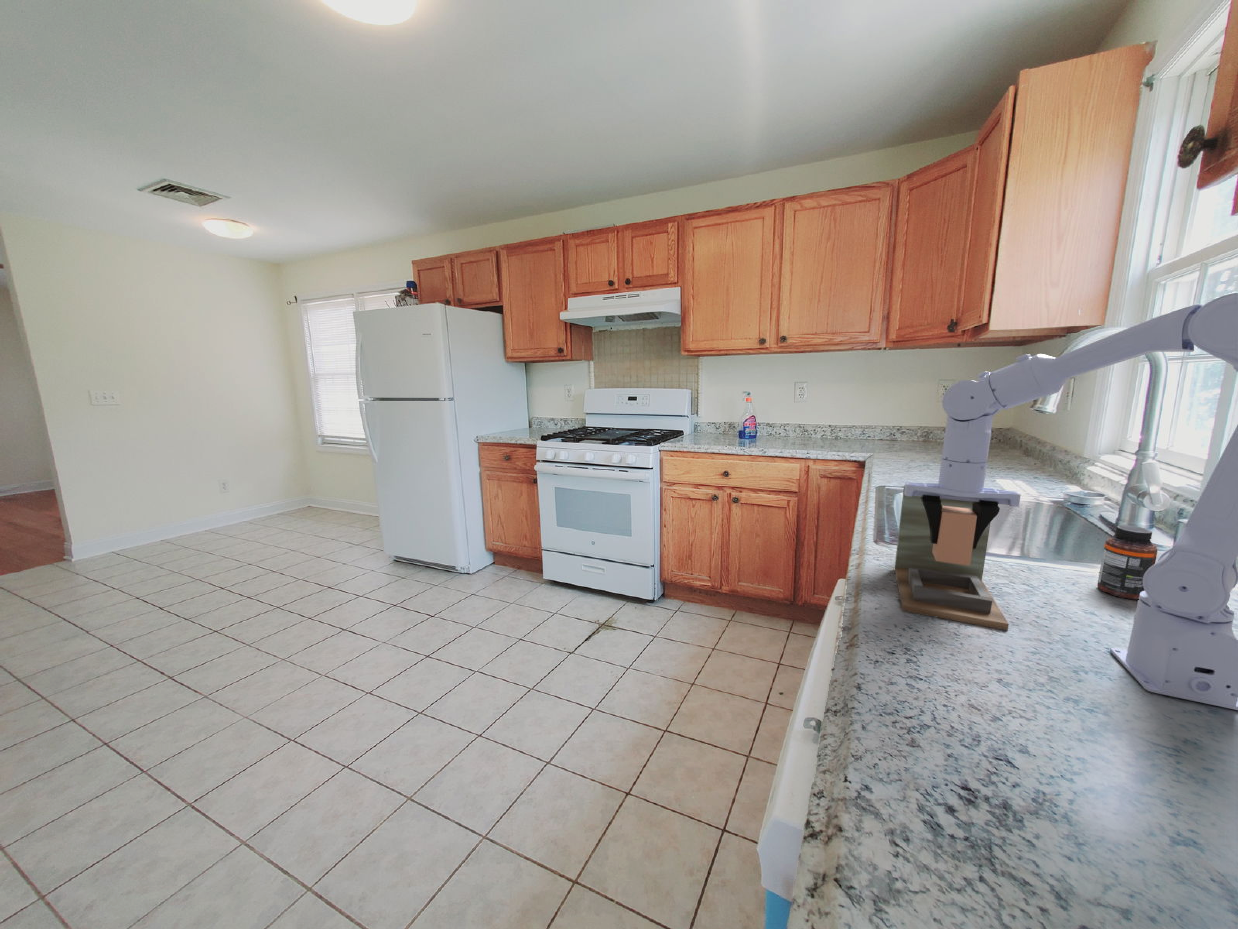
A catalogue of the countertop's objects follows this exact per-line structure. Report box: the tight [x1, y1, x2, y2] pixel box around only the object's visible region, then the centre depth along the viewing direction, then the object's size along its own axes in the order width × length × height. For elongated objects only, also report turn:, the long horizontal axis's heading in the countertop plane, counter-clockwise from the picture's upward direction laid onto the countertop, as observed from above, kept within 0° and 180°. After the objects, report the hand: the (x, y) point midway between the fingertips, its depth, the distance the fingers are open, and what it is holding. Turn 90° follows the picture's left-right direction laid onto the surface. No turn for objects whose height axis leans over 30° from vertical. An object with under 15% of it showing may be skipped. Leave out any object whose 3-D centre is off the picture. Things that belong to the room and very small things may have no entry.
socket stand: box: [894, 484, 1010, 631], centre depth 77 cm, size 18×13×16 cm
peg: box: [932, 506, 977, 566], centre depth 75 cm, size 4×4×8 cm
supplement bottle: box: [1096, 524, 1158, 600], centre depth 79 cm, size 6×6×11 cm
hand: (952, 544), depth 76 cm, fingers closed on peg, 4 cm apart
